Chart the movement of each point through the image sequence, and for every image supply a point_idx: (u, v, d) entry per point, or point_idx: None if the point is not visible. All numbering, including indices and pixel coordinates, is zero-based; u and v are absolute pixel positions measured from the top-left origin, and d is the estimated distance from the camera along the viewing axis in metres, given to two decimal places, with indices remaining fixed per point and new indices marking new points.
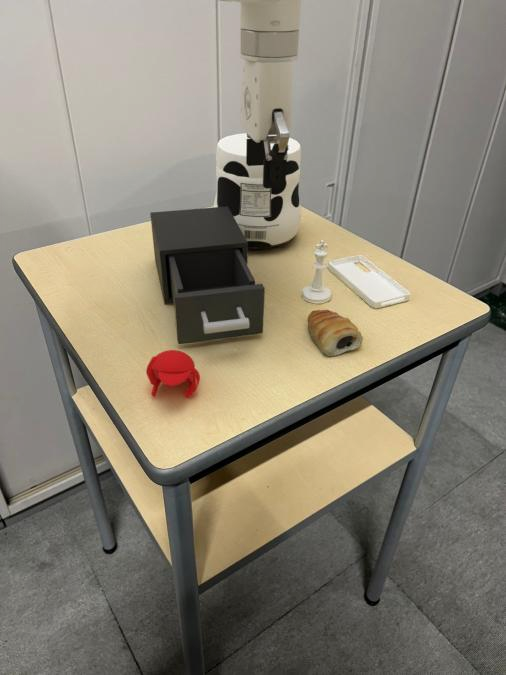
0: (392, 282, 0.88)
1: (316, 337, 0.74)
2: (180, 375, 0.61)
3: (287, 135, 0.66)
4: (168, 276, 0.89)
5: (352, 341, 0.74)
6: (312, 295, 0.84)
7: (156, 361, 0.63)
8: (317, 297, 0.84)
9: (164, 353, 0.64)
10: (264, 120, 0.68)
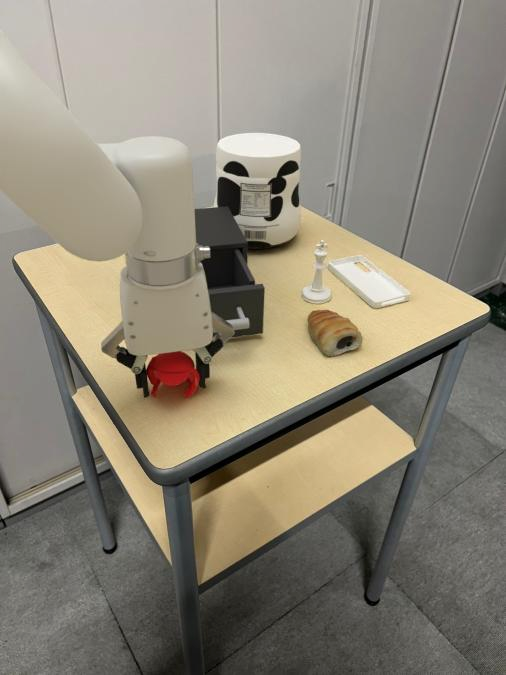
0: (392, 282, 0.88)
1: (316, 337, 0.74)
2: (179, 375, 0.61)
3: (101, 348, 0.60)
4: None
5: (352, 341, 0.74)
6: (312, 295, 0.84)
7: (156, 361, 0.63)
8: (317, 297, 0.84)
9: (164, 353, 0.64)
10: None
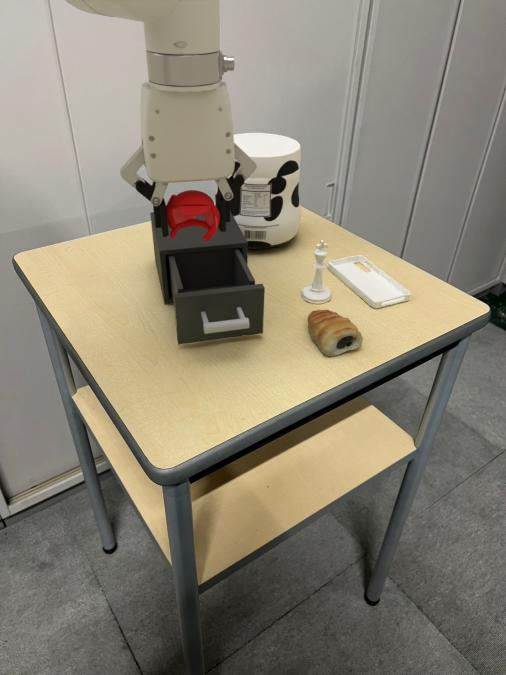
0: (392, 282, 0.88)
1: (316, 337, 0.74)
2: (200, 207, 0.60)
3: None
4: (168, 276, 0.89)
5: (352, 341, 0.74)
6: (312, 295, 0.84)
7: (175, 197, 0.62)
8: (317, 297, 0.84)
9: None
10: None
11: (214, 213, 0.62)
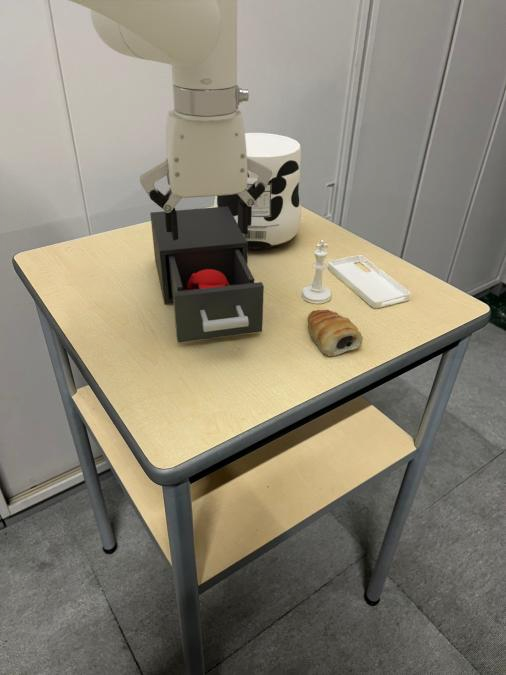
0: (392, 282, 0.88)
1: (316, 337, 0.74)
2: (216, 285, 0.74)
3: (140, 180, 0.65)
4: (168, 276, 0.89)
5: (352, 341, 0.74)
6: (312, 295, 0.84)
7: (196, 276, 0.76)
8: (317, 297, 0.84)
9: (202, 270, 0.77)
10: None
11: None
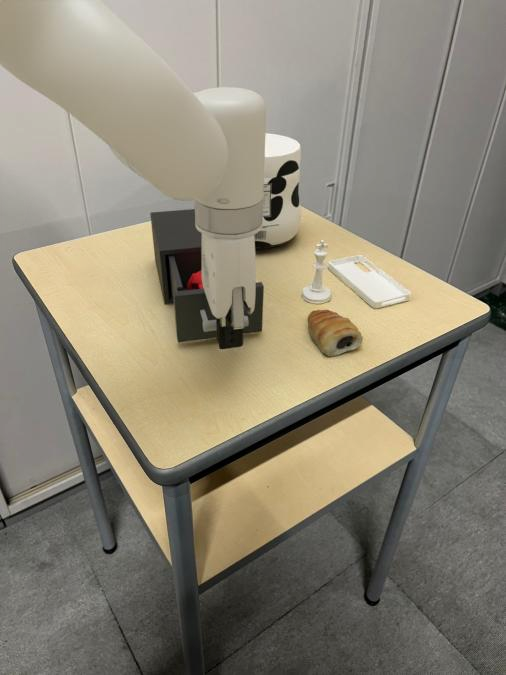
0: (392, 282, 0.88)
1: (316, 337, 0.74)
2: None
3: (241, 328, 0.60)
4: (168, 276, 0.89)
5: (352, 341, 0.74)
6: (312, 295, 0.84)
7: (196, 276, 0.76)
8: (317, 297, 0.84)
9: None
10: (223, 299, 0.58)
11: None
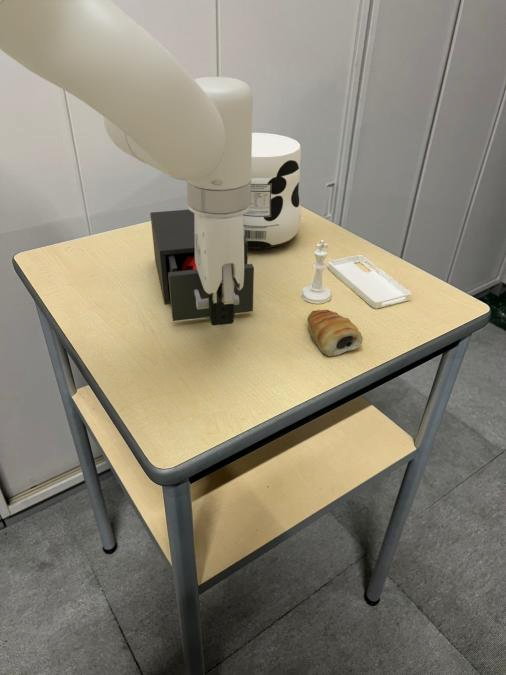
0: (392, 282, 0.88)
1: (316, 337, 0.74)
2: None
3: (231, 303, 0.65)
4: None
5: (352, 341, 0.74)
6: (312, 295, 0.84)
7: (190, 259, 0.80)
8: (317, 297, 0.84)
9: None
10: (214, 275, 0.62)
11: None
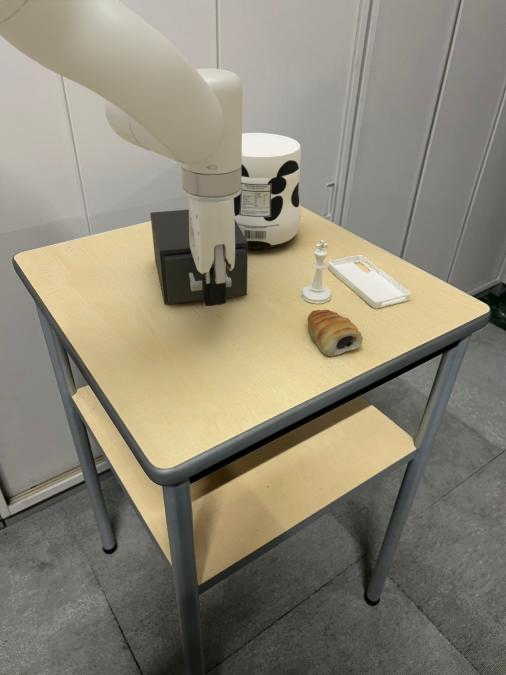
0: (392, 282, 0.88)
1: (316, 337, 0.74)
2: None
3: (223, 283, 0.68)
4: None
5: (352, 341, 0.74)
6: (312, 295, 0.84)
7: None
8: (317, 297, 0.84)
9: None
10: (206, 255, 0.66)
11: None
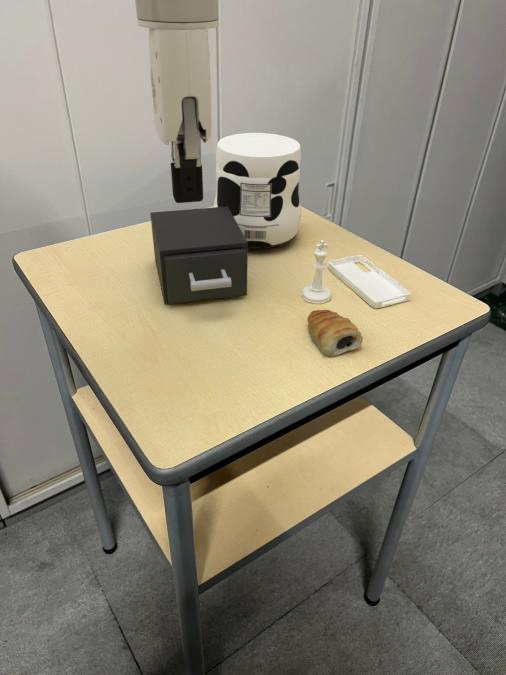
0: (392, 282, 0.88)
1: (316, 337, 0.74)
2: None
3: (196, 158, 0.51)
4: None
5: (352, 341, 0.74)
6: (312, 295, 0.84)
7: None
8: (317, 297, 0.84)
9: None
10: (171, 113, 0.48)
11: None
